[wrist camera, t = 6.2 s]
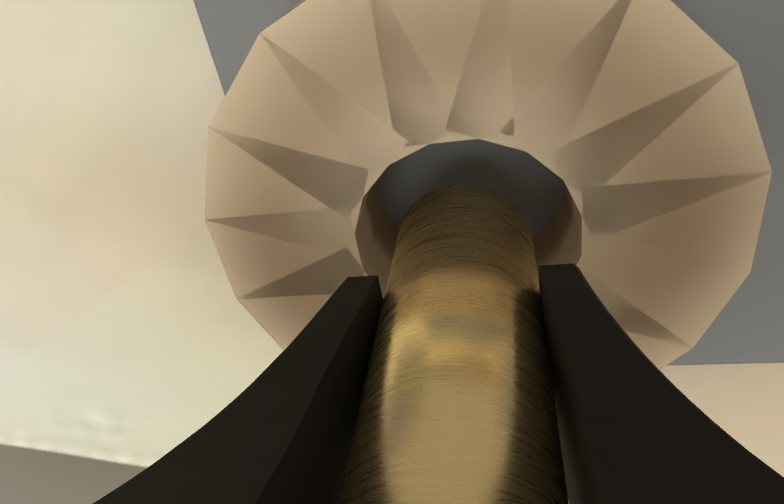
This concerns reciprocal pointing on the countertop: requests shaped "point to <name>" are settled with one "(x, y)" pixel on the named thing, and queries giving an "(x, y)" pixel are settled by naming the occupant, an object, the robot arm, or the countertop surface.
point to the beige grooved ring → (498, 125)
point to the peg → (459, 364)
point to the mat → (546, 189)
